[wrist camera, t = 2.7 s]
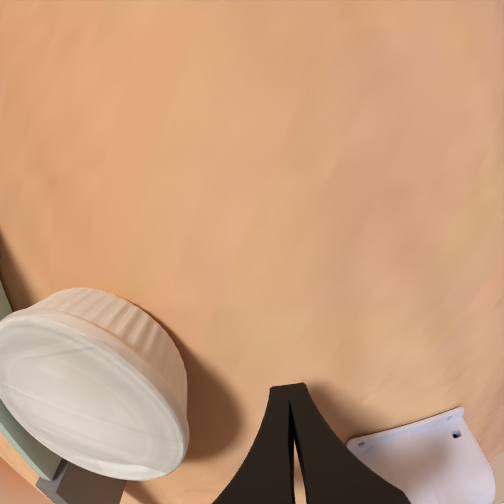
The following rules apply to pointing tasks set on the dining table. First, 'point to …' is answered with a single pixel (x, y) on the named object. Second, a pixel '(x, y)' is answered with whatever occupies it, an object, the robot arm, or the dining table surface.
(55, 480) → the grey angled pieces
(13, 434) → the door
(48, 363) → the ramekin
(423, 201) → the dining table surface
